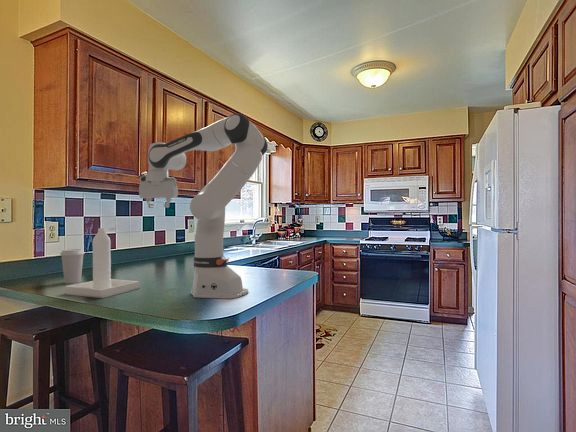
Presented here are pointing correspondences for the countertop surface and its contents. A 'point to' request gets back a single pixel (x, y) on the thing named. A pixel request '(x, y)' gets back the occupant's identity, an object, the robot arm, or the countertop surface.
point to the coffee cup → (72, 265)
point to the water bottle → (101, 260)
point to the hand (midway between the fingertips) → (158, 207)
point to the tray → (88, 290)
